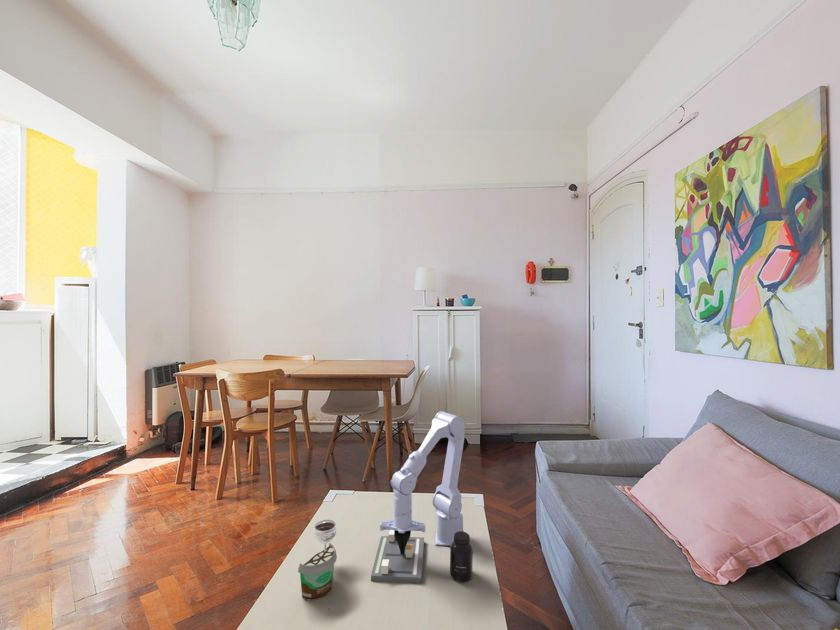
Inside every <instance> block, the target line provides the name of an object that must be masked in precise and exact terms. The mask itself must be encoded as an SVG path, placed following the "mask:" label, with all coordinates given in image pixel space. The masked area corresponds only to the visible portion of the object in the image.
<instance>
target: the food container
mask: <svg viewBox="0 0 840 630" xmlns="http://www.w3.org/2000/svg"><path fill="white" fill-rule="evenodd" d="M337 555H338V554H337V551H336V548H335V547H334V545H333V544H332V543H331V542H328V546H326V549H325V550H324V549H323V550H322V551H319V552H318V553H316V554H314V555H313V556H312V557H311V558H310V559H309V560H307V561H306V562H305V563H303V564H302V563H299V566H298V570H297V573H299V576H300V577H299V579H300V585H301V586H300V588H301V598H303V599H304V598H305V600H308V599H309V601H313V600H314V601H315V600H318V599H322V598H323V597H325V596H327V595H328V594H329V593H330V592H331V591H332V589H333V580H334V578H333V577H334V569H335V567H334V566H335V563H336V562H337V559H338V556H337Z"/></svg>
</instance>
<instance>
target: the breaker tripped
mask: <svg viewBox="0 0 840 630" xmlns="http://www.w3.org/2000/svg"><path fill="white" fill-rule="evenodd" d="M412 555H413V544H407V546H406V557H408V558H412Z"/></svg>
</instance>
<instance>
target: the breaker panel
mask: <svg viewBox="0 0 840 630" xmlns="http://www.w3.org/2000/svg"><path fill="white" fill-rule="evenodd" d="M407 544H413V555H412V558H408V557H406V548H405V554H400V549H399V545H398V543H397V541H396V539H395V541H394V542H388V535H381V536H380V540H379V543H378V548H377V551H376V555H375V559H374V563H373V566H372V569H371V574H370V581H371V582H391V583H392V582H393V583H416V584H417V583H418V584H419V583H420V584H421V583H422V578H423V564H424V562H423V561H424V546H425V537H418V536H417V537H416V536H413V537H412V536H410V538H409V540H408V542H407ZM406 546H407V545H406ZM383 559H389V571H388V574H381V565H382V560H383Z"/></svg>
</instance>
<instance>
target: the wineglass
mask: <svg viewBox="0 0 840 630" xmlns="http://www.w3.org/2000/svg"><path fill="white" fill-rule="evenodd" d="M336 524H337V523H336V521H334V520H332V519H324V520H319V521H317V522H316V523H315V525H314V527H313V528H314V532H313V535H314V539H315V540H316V542H318V543H319V544H323V550H325V549H326V548H327V544H329V543H331V541H332V540H333V539H334V538H335V536H336V535H337V528H336Z"/></svg>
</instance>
